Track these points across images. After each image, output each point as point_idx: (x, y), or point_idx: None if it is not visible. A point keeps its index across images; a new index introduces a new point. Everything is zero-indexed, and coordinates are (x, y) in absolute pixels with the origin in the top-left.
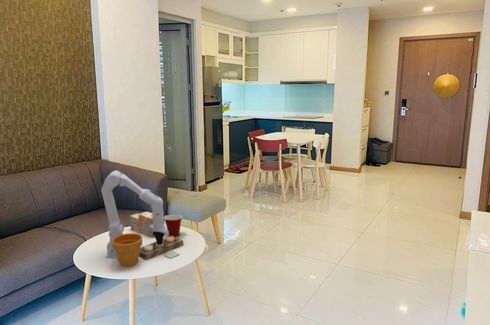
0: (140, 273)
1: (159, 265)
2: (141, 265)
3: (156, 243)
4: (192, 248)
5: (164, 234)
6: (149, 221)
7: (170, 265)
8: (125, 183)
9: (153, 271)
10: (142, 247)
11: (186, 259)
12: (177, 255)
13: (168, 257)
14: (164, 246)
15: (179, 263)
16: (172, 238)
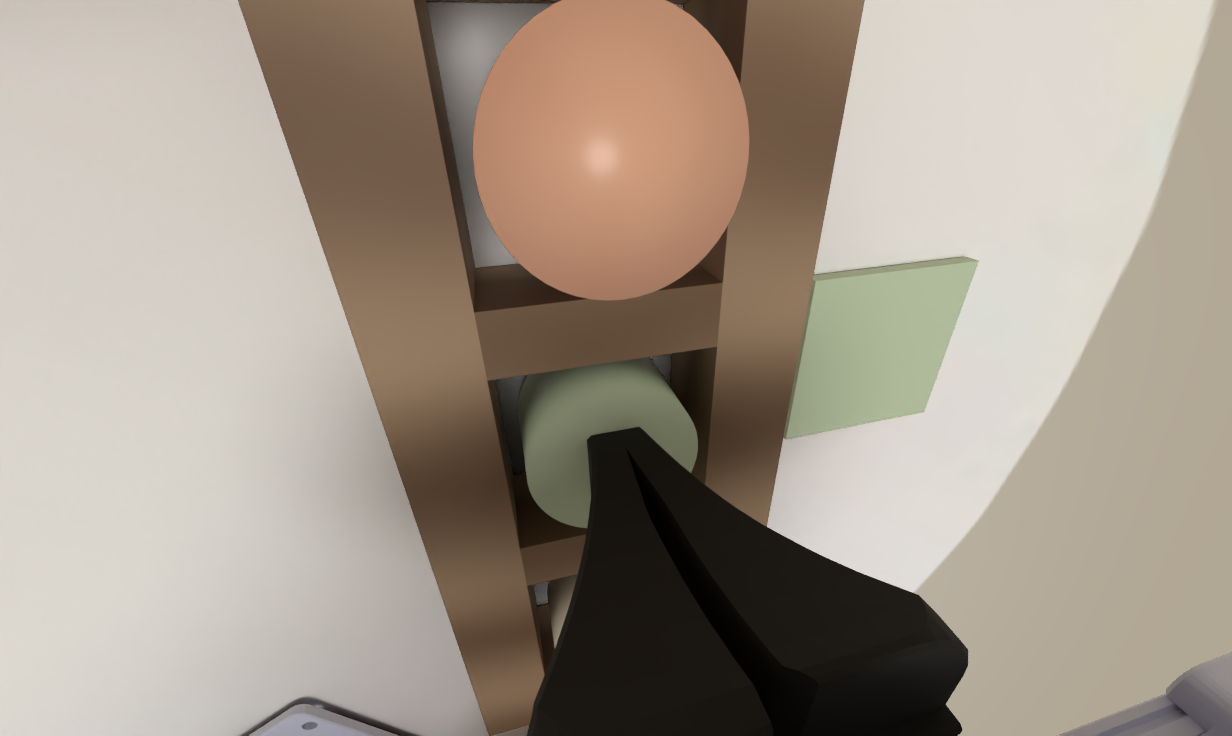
0: None
1: (892, 534)
2: None
3: (541, 501)
4: None
5: (851, 582)
6: None
7: (987, 463)
8: None
9: (910, 591)
10: (497, 670)
11: (1099, 268)
12: (955, 302)
13: (879, 415)
14: (746, 420)
15: (1055, 381)
16: (702, 124)
